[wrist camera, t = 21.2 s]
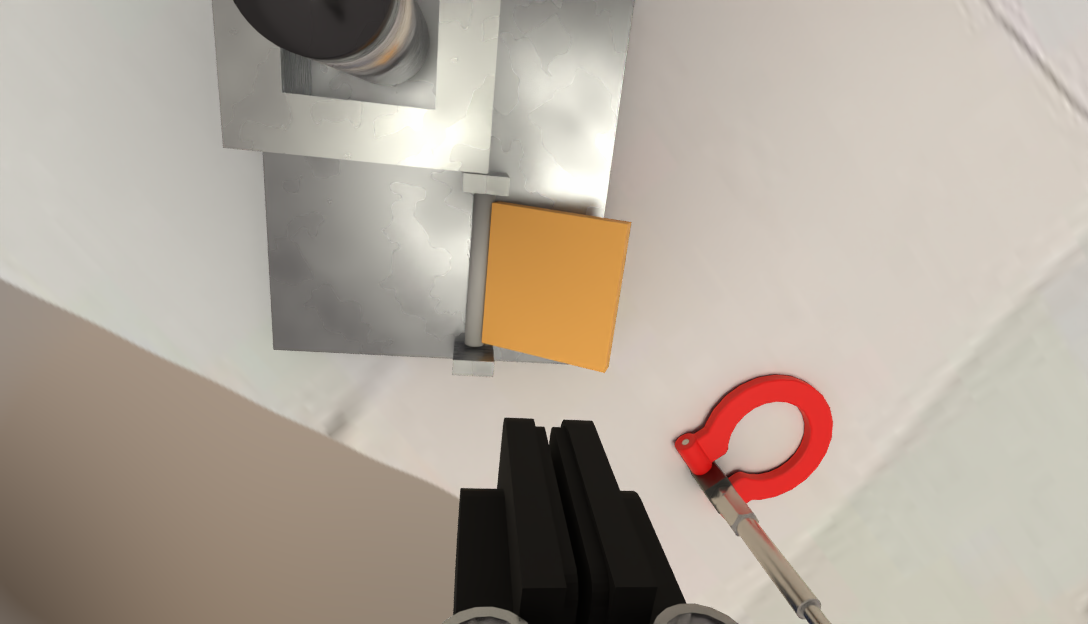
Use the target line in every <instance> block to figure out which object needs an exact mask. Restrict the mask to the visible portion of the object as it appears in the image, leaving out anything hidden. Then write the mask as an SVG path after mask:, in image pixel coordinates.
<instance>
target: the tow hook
mask: <svg viewBox="0 0 1088 624" xmlns="http://www.w3.org/2000/svg"><path fill="white" fill-rule="evenodd" d="M771 402H788V403H790V404H793V405H795V406H797V407H798V408H799V410H800V412H801V413H802V415H803V419H804V423H805V427H804V436H803V439H802V442H801V444H800V446H799V448H798V449H797V451H796V453H795V454H794V455H793V456H792V457H791V458H790V459H789V460H788V461H787V462H786V463H784V464H783V465H782V466H780V467H779V468H777V469H774V470H772V471H770V472H767V473H762V474H747V473H744V472H736V473H735V474H733V475H732V476H730V477H729V478H727V476H726V475H725V474H724V473H723V471H722V470H721V469H720V468H719V466H718V465H717V464H716V463H715V462H714V461H715V460H716V459H718V458H719V457H721V456H722V455H724V454H725V453H726V452H727V450H728V443H729V440H730V436H731V433H732V432H733V430H734V428H735V426H736V425H737V423H738V422H739V421H740V420H741V419H742V418H743V417H744V416H745V415H746V414H747V413H749V412H750V411H752V410H753V409H754V408H756V407H759V406H761V405H763V404H766V403H771ZM832 427H833V420H832V416H831V411H830V407H829V405H828V404H827V402H826V400H825V399H824V397H823V395H822V394H820V393H819V392H818V391H817V390H816V389H815V388H813V387H812V386H811V385H809V384H808V383H807V382H805V381H803V380H800V379H798V378H795V377H793V376H787V375H769V376H763V377H758V378H755V379H753V380H751V381H748V382H746V383H744V384H741V385H740V386H738V387H737V388H736V389H734V390H733V391H731V392H730V393H729V394H727V395H726V396H725V397H724V398H723V399H722V400H721V401H720V403H719V404H718V405H717V406H716V407H715V408H714V409H713V411H712V413H711V415H710V417H709V418H708V420H707V422H706V424H705V426H704V428H702V429H701V430H699V431H698V432H696V433H695V434H692V433H686V434H683V435H681V436H680V437H679V438H678V439H677V440H676V442H675V447H676V449H677V451H678V452H679V454H680V455H681V457H682V458H683V460H684V461H685V462H686V464H687V465H688V467H689V468H690V470H691V474H692V476H693V477H694V478H695V480H696V481H697V483H698V484H699V486H700V487H701V489H702V490H703V492H704V493H705V495H706V496H707V497H708V499H709V500H710V502H711V503H712V504H713V506H714V507H715V509H716V510H717V512H718V513H719V514H721V516H722V517H723V518H724V519H725V520H726V521H727V523H728V524H729V526H730V527H731V528H732V530H733V531H734V533H735V534H736V535H737V536H740V537H741V538H742V539H743V541H744V542H745V544H746V545H747V546H748V548H749V549H750V550H751V552H752V553H753V555H754V556H755V557H756V559H757V560H758V562H759V563H760V564H761V566H762V567H763V568H764V570H765V571H766V573H767V574H768V575H769V577H770V578H771V580H772V581H773V582H774V584H775V585H776V586H777V588H778V589H779V591H780V592H781V593H782V595H783V596H784V598H785V599H786V600H787V602H788V603H789V605H790V606H791V607H792V609H793V610H794V611H795V613H796V614H797V616H798V617H799V618H801V619H806V620H807V621H808V623H809V624H831V623H830V621H829V620H828V619H827V618H826V616H825V615H824V614H823V612H822V611H821V610H820V609H821V603H820V601H819V600H818V599H817V597H816V596H815V595H814V594H813V592H812V591H811V590H810V589H809V587H808V586H807V585H806V583H805V582H804V581H803V580H802V578H801V577H800V576H799V575H798V573H797V572H796V571H795V570H794V568H793V567H792V566H791V565H790V563H789V562H788V561H787V559H786V558H785V557H784V556H783V554H782V553H781V552H780V551H779V549H778V548H777V547H776V546H775V544H774V543H773V542H772V541H771V539H770V538H769V537H768V535H767V534H766V533H765V532H764V530H763V529H762V528H761V527H760V525H759V524H758V523H759V521H758V519H757V518H756V516H755V515H754V513H753V512H752V511H751V509H750V508H749V507H748V506H747V504H746V503H748V502H749V501H751V500H762V499H767V498H772V497H776V496H778V495H781V494H783V493H785V492H787V491H790V490H792V489H793V488H795V487H796V486H797V485H799V484H800V483H802V482H803V481H804V480H806V479H807V478H808V477H809V476H810V474H811V473H812V472H813V471H814V470H815V469H816V468H817V467H818V465H819V464H820V462H821V461H822V459H823V457H824V456H825V454H826V452H827V450H828V447H829V444H830V441H831V438H832Z"/></svg>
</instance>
